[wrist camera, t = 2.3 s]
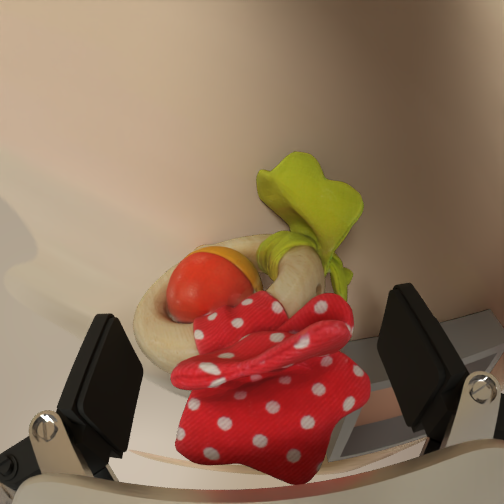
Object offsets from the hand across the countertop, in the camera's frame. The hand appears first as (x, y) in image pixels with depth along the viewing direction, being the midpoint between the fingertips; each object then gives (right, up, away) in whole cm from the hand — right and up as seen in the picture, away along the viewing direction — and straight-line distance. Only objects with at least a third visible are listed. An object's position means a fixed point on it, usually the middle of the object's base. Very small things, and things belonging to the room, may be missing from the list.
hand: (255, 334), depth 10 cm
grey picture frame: (+13, -9, +12) cm, 20 cm away
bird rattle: (0, +4, +4) cm, 6 cm away
